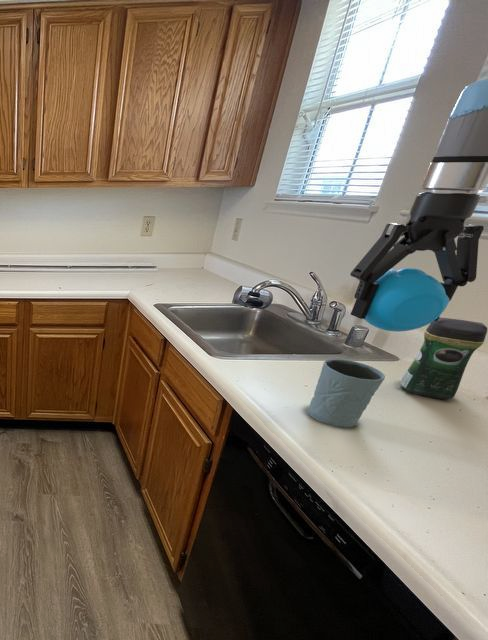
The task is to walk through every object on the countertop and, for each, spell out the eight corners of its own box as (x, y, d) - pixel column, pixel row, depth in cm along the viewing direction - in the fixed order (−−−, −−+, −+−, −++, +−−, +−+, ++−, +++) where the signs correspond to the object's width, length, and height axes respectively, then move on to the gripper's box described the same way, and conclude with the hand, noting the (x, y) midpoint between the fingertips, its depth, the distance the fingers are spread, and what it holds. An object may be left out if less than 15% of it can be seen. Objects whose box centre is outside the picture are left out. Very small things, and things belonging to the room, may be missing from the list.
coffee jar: (447, 391, 104) (487, 320, 96) (455, 403, 98) (498, 329, 90) (396, 380, 109) (430, 312, 101) (400, 392, 103) (436, 320, 95)
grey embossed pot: (314, 401, 98) (333, 355, 93) (368, 420, 91) (392, 371, 86) (297, 414, 93) (316, 366, 88) (353, 435, 85) (377, 383, 80)
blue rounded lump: (444, 337, 76) (478, 273, 71) (403, 344, 72) (435, 277, 67) (372, 317, 86) (396, 260, 81) (332, 322, 83) (356, 263, 77)
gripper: (505, 191, 71) (443, 313, 81) (356, 190, 73) (312, 309, 82) (555, 193, 64) (481, 326, 74) (389, 192, 66) (338, 321, 76)
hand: (392, 317), depth 78 cm, fingers closed on blue rounded lump, 12 cm apart
